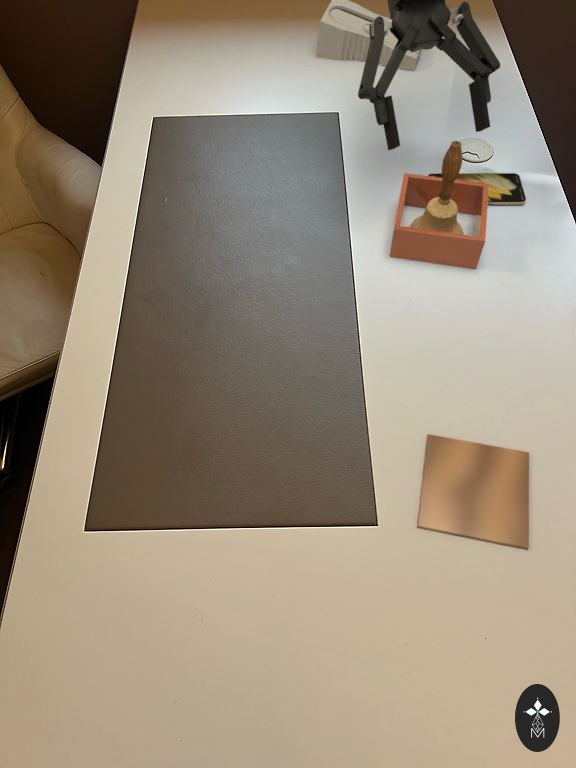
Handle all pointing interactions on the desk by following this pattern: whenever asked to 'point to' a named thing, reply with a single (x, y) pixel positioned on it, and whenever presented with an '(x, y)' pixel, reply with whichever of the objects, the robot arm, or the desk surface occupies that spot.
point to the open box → (438, 243)
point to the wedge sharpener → (354, 35)
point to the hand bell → (444, 197)
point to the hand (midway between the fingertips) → (439, 139)
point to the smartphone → (497, 186)
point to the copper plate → (475, 491)
